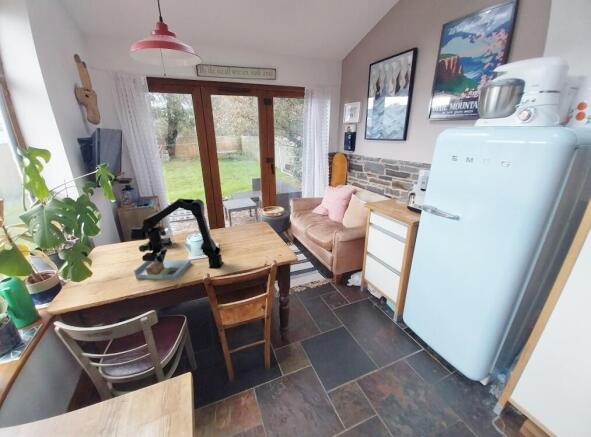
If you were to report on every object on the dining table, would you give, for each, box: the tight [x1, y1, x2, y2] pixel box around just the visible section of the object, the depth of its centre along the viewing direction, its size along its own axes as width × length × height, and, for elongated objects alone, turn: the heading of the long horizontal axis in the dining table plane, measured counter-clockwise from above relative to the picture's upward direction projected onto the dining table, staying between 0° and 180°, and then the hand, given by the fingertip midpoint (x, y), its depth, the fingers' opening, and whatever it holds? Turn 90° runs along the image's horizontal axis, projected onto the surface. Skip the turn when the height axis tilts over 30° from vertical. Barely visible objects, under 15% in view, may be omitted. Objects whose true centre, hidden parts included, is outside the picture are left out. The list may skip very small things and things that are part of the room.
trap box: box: [133, 258, 192, 280], centre depth 136 cm, size 23×16×5 cm
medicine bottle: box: [160, 227, 175, 249], centre depth 164 cm, size 7×7×12 cm
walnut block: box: [146, 262, 165, 275], centre depth 131 cm, size 6×6×4 cm
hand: (161, 263), depth 135 cm, fingers closed
